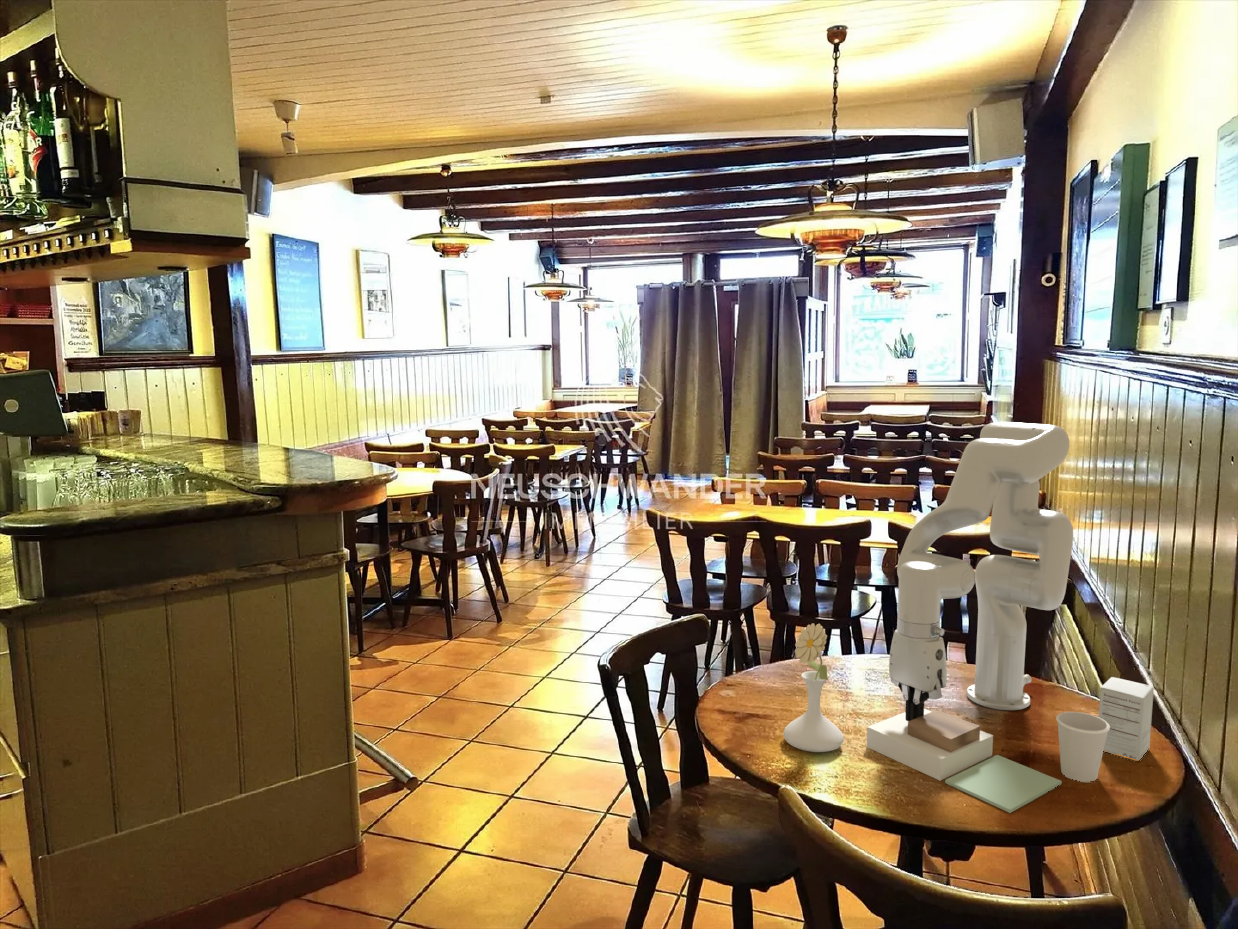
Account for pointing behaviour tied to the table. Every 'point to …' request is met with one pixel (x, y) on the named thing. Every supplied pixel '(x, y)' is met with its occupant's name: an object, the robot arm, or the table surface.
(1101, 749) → the dixie cup
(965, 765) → the flat white rectangular box
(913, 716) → the robot arm
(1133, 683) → the supplement box
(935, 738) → the walnut block
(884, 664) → the table surface
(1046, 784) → the green mat
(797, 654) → the flower in vase
